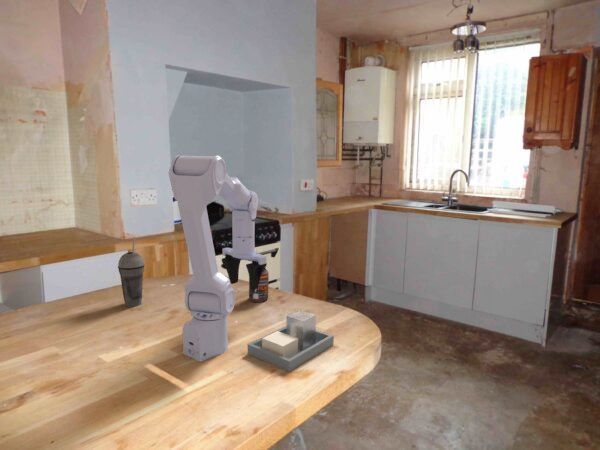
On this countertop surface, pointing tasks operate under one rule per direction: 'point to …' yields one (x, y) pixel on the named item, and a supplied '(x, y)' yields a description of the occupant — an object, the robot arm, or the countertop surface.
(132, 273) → the beverage cup
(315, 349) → the tote
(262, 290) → the supplement bottle
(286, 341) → the cream bevelled block
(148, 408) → the countertop surface
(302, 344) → the tin
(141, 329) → the countertop surface
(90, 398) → the countertop surface
